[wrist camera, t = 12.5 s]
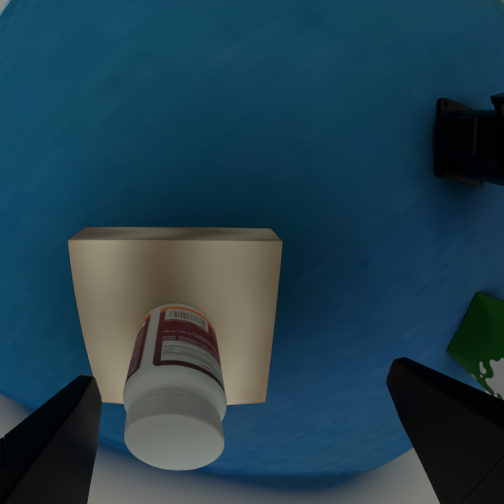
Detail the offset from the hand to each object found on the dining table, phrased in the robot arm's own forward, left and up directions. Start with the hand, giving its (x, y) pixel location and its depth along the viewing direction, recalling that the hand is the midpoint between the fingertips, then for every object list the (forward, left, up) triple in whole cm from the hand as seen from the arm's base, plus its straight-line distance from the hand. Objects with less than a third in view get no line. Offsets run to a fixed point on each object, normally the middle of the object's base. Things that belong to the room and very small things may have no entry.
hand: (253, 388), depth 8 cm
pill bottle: (+3, +4, -10) cm, 11 cm away
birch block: (+3, +5, -13) cm, 14 cm away
